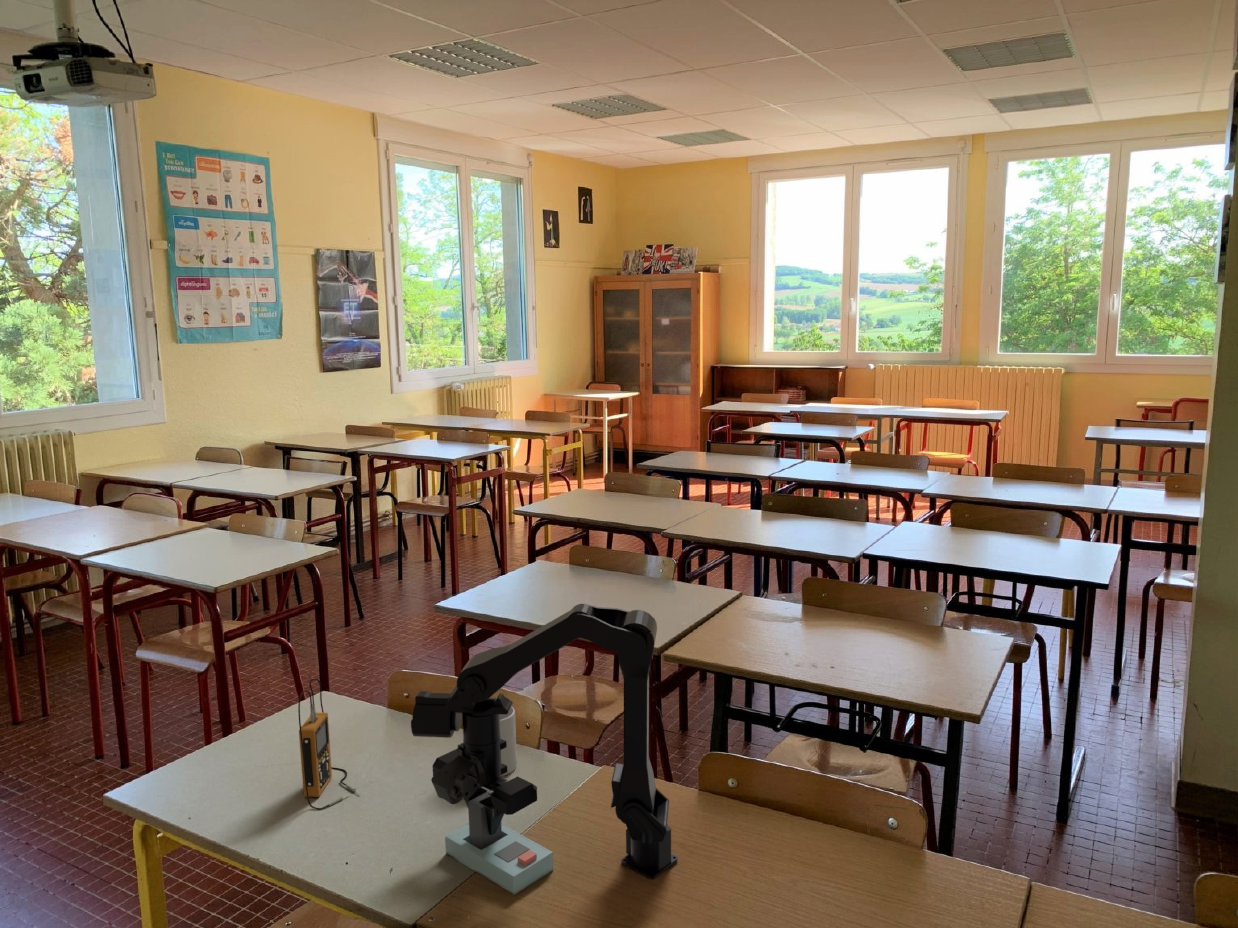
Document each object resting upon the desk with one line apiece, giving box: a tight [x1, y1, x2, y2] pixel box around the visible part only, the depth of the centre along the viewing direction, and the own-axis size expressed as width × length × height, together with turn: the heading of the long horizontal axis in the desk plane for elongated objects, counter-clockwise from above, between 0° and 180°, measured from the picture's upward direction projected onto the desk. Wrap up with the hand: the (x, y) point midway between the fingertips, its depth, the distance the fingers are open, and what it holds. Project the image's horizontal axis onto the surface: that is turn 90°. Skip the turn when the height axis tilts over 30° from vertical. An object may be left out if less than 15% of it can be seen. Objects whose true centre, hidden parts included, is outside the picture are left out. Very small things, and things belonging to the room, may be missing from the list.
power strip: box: [444, 823, 554, 896], centre depth 141 cm, size 16×8×4 cm, turn 49°
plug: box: [467, 791, 502, 850], centre depth 143 cm, size 4×3×8 cm
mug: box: [500, 705, 518, 777], centre depth 172 cm, size 12×8×11 cm
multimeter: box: [297, 678, 362, 811], centre depth 162 cm, size 15×10×20 cm
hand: (485, 829), depth 143 cm, fingers closed on plug, 3 cm apart
